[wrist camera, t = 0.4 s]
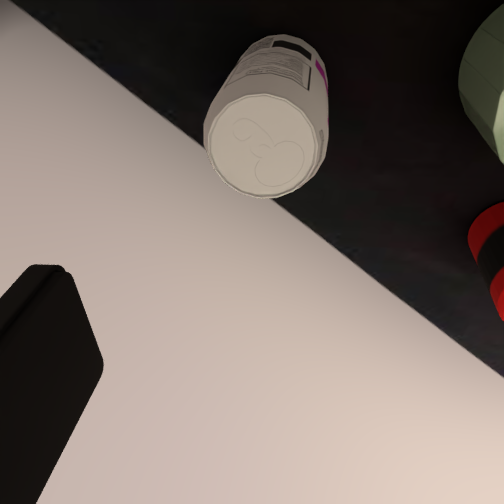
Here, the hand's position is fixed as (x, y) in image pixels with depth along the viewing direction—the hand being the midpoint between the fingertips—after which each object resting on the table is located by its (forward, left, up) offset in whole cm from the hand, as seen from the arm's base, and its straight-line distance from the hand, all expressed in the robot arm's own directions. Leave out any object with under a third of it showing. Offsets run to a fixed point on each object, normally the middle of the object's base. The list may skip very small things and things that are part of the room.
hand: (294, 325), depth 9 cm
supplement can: (+5, -3, -35) cm, 36 cm away
